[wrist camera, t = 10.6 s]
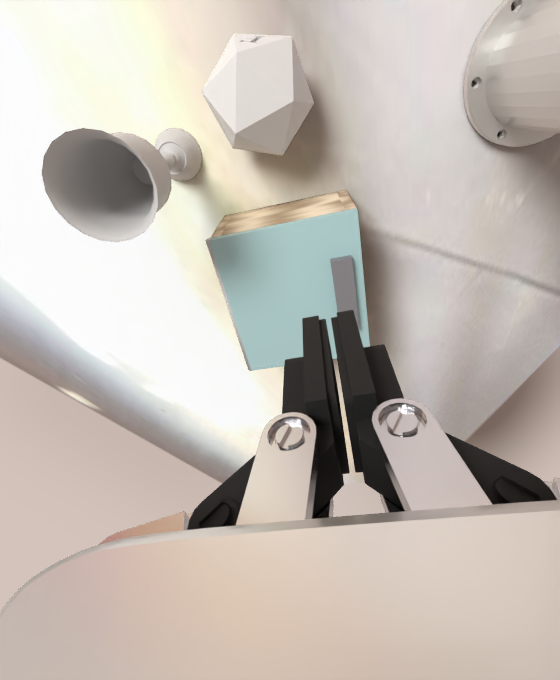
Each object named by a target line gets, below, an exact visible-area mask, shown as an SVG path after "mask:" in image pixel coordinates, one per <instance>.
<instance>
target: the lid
mask: <svg viewBox="0 0 560 680" xmlns="http://www.w3.org/2000/svg"><path fill="white" fill-rule="evenodd" d="M206 243H207V246H208V249H209V252H210V255H211V258H212V261H213V264H214V267H215V270H216V273H217V276H218V279H219V282H220V285H221V288H222V291H223V294H224V297H225V300H226V303H227V306H228V309H229V312H230V315H231V318H232V321H233V324H234V327H235V330H236V334H237V337H238V340H239V343H240V346H241V349H242V352H243V355H244V358H245V361H246V364H247V367H248V370H250V371H252V370H259V369H266V368H273V367H280V366H284V364H285V360H286V359H291V358H298V357H303V327H302V318H306V317H312V316H319V320H320V319H326V324H327V330H328V336H329V341H330V347H331V353H332V359H336V358H337V354H336V348H335V341H334V335H333V329H332V322H331V318H332V317H337V312H342V311H348V310H353V311H354V315H355V318H356V322H357V326H358V329H359V333H360V337H361V340H362V344H363V347H370V342H369V331H368V320H367V308H366V297H365V286H364V275H363V264H362V252H361V241H360V230H359V219H358V210H357V208H355V209H350V210H345V211H340V212H335V213H330V214H325V215H321V216H316V217H311V218H306V219H301V220H296V221H291V222H286V223H281V224H277V225H272V226H267V227H262V228H257V229H252V230H247V231H242V232H237V233H233V234H228V235H223V236H218V237H213V238H209V239H206Z"/></svg>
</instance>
